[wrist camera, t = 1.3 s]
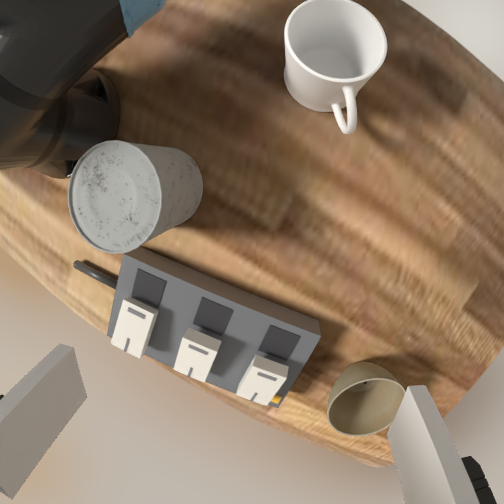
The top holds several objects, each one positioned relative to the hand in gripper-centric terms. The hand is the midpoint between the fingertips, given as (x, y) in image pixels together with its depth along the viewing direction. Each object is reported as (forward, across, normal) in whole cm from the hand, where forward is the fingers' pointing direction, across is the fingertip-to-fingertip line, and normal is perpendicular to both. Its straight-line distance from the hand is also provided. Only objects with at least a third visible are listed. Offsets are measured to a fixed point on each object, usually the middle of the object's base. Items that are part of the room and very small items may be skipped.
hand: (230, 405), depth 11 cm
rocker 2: (+21, -7, -13) cm, 25 cm away
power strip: (+26, -10, -10) cm, 30 cm away
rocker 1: (+21, -14, -10) cm, 28 cm away
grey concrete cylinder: (+27, -12, +5) cm, 30 cm away
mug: (+27, +5, +17) cm, 32 cm away
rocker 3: (+21, +1, -16) cm, 26 cm away
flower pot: (+26, +14, -18) cm, 35 cm away
